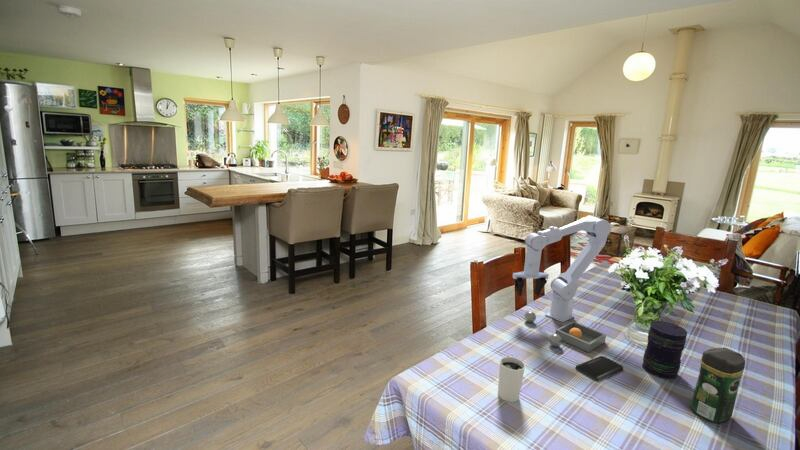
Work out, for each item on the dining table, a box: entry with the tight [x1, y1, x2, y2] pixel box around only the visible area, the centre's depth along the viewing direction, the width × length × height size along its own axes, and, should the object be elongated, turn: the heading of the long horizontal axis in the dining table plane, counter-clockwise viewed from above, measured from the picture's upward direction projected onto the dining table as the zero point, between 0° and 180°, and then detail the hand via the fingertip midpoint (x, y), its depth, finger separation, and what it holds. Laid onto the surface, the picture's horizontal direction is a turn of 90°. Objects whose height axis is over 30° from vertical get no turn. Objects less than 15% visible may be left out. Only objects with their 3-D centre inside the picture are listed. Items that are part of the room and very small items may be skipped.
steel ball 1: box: [523, 310, 537, 324], centre depth 155 cm, size 4×4×4 cm
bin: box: [554, 320, 607, 354], centre depth 143 cm, size 13×13×3 cm
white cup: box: [497, 356, 526, 403], centre depth 108 cm, size 7×7×10 cm
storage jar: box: [641, 320, 688, 380], centre depth 124 cm, size 10×10×15 cm
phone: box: [575, 355, 624, 382], centre depth 125 cm, size 8×1×15 cm
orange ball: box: [569, 328, 582, 339], centre depth 142 cm, size 4×4×4 cm
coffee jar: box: [689, 346, 746, 424], centre depth 105 cm, size 10×8×19 cm
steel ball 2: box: [548, 333, 563, 348], centre depth 137 cm, size 4×4×4 cm
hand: (528, 295), depth 158 cm, fingers open, 7 cm apart
